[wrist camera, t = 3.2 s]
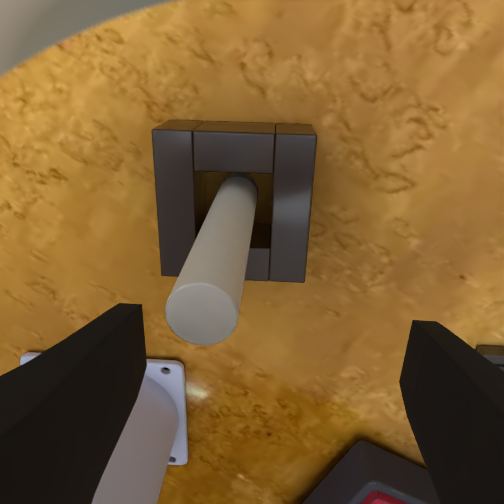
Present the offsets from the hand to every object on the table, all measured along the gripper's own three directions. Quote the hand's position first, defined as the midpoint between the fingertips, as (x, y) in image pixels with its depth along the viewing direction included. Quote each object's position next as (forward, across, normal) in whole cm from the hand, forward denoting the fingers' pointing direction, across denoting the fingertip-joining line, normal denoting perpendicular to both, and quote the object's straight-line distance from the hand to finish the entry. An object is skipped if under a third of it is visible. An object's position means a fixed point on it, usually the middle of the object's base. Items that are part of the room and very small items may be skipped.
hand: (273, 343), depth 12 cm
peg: (+10, +2, -1) cm, 11 cm away
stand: (+10, +2, -1) cm, 11 cm away
